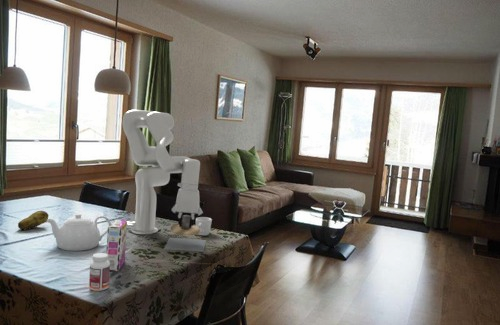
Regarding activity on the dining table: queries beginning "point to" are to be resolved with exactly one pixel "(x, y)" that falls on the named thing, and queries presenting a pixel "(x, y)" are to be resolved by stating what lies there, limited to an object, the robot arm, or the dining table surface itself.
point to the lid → (185, 227)
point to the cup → (203, 225)
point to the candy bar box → (116, 244)
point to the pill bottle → (99, 272)
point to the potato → (33, 220)
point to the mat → (185, 244)
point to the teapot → (77, 233)
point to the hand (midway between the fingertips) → (185, 226)
